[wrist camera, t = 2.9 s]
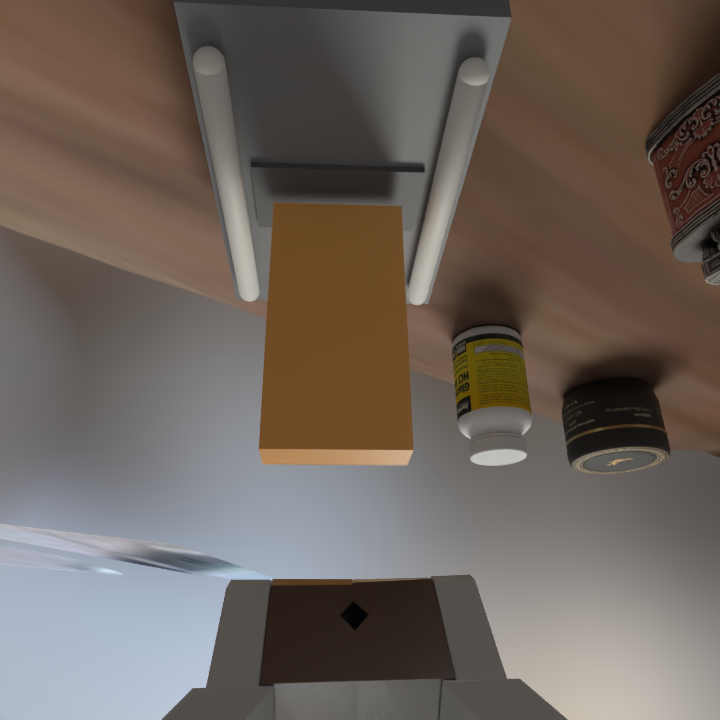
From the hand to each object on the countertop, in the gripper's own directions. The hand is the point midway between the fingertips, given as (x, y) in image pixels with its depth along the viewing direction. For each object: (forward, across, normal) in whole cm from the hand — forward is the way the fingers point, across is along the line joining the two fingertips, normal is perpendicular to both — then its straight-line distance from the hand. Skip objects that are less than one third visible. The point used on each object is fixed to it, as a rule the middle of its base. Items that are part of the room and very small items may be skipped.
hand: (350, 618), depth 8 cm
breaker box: (+31, 0, +6) cm, 31 cm away
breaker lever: (+26, 0, +2) cm, 26 cm away
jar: (+57, +30, -22) cm, 68 cm away
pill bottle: (+49, +14, -13) cm, 52 cm away
